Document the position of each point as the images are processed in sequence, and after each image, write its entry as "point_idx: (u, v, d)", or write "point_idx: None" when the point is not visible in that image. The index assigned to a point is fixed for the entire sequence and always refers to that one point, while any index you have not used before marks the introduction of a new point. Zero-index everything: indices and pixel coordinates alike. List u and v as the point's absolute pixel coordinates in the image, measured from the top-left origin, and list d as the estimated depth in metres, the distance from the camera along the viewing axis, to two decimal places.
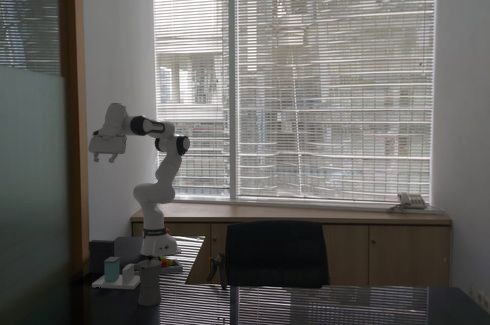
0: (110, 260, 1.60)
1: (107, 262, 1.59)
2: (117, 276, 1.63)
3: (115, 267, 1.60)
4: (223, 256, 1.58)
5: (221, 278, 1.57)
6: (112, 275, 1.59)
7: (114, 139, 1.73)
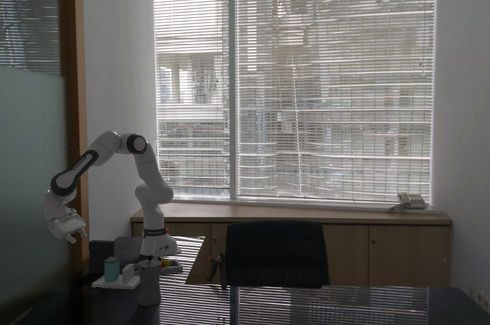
0: (110, 260, 1.60)
1: (107, 262, 1.59)
2: (117, 276, 1.63)
3: (115, 267, 1.60)
4: (223, 256, 1.58)
5: (221, 278, 1.57)
6: (112, 275, 1.59)
7: None
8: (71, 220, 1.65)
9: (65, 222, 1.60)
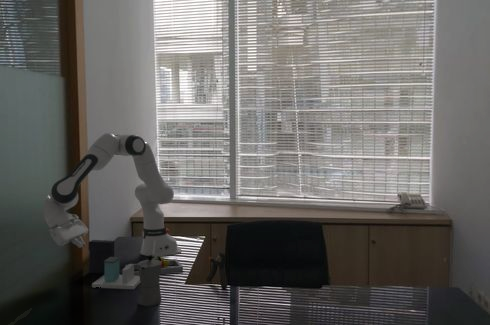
0: (110, 260, 1.60)
1: (107, 262, 1.59)
2: (117, 276, 1.63)
3: (115, 267, 1.60)
4: (223, 256, 1.58)
5: (221, 278, 1.57)
6: (112, 275, 1.59)
7: None
8: (73, 226, 1.65)
9: (67, 229, 1.61)
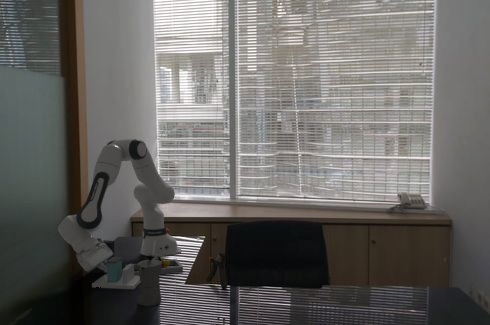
0: (113, 260, 1.60)
1: (110, 262, 1.59)
2: (119, 276, 1.63)
3: (117, 268, 1.60)
4: (223, 256, 1.58)
5: (221, 278, 1.57)
6: (115, 275, 1.59)
7: None
8: (99, 250, 1.65)
9: (93, 254, 1.60)
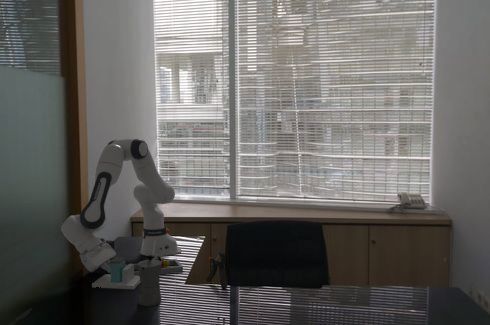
0: (116, 260, 1.60)
1: (113, 262, 1.58)
2: None
3: (121, 268, 1.60)
4: (223, 256, 1.58)
5: (221, 278, 1.57)
6: (118, 275, 1.59)
7: None
8: (102, 250, 1.65)
9: (97, 254, 1.60)
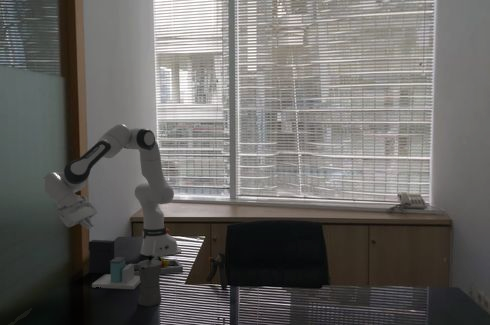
0: (116, 260, 1.60)
1: (113, 262, 1.58)
2: None
3: (121, 268, 1.60)
4: (223, 256, 1.58)
5: (221, 278, 1.57)
6: (118, 275, 1.59)
7: None
8: (82, 208, 1.66)
9: (76, 210, 1.61)
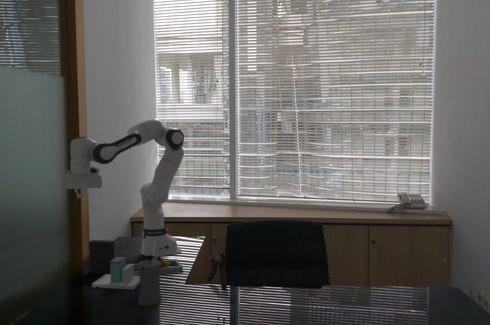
0: (116, 260, 1.60)
1: (113, 262, 1.58)
2: None
3: (121, 268, 1.60)
4: (223, 256, 1.58)
5: (221, 278, 1.57)
6: (118, 275, 1.59)
7: None
8: (86, 178, 1.82)
9: (75, 178, 1.80)
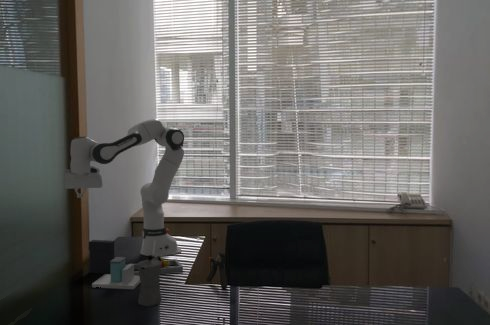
0: (116, 260, 1.60)
1: (113, 262, 1.58)
2: None
3: (121, 268, 1.60)
4: (223, 256, 1.58)
5: (221, 278, 1.57)
6: (118, 275, 1.59)
7: None
8: (86, 178, 1.82)
9: (75, 178, 1.80)
